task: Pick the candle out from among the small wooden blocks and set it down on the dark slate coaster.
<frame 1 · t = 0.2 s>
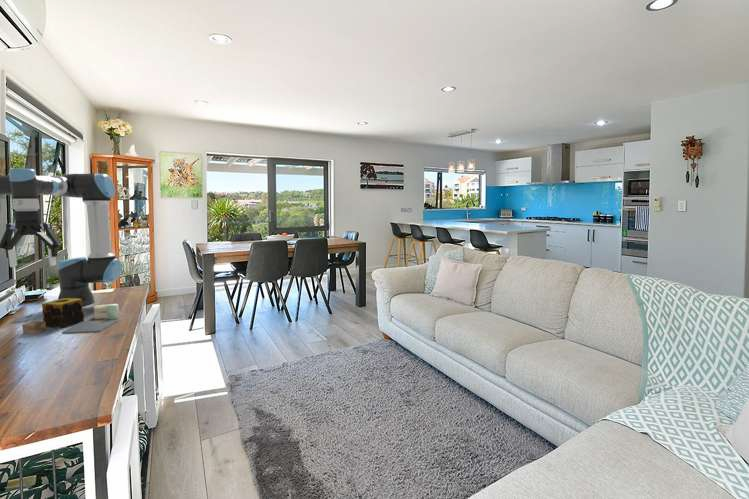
hand: (33, 266, 155), 27 cm above the table, fingers open, 13 cm apart
coaster: (91, 327, 167), on the table
sage cylinder: (113, 318, 179), on the table
candle: (64, 324, 172), on the table
walnut block: (35, 332, 161), on the table
maple block: (102, 317, 181), on the table
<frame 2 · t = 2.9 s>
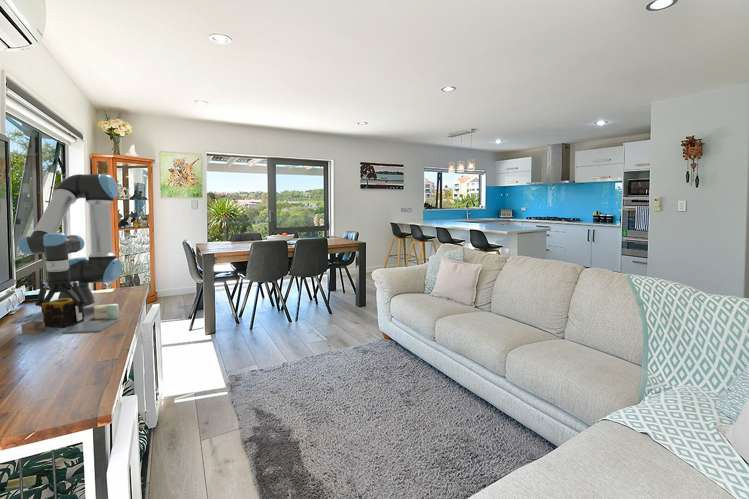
hand: (64, 320, 171), 1 cm above the table, fingers closed on candle, 11 cm apart
candle: (64, 324, 172), on the table, touching gripper
everything else where it was.
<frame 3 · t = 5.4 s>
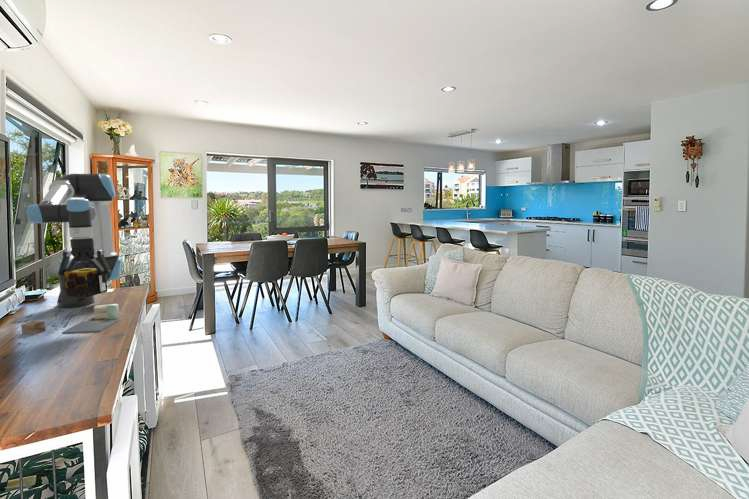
hand: (87, 291, 165), 15 cm above the table, fingers closed on candle, 11 cm apart
candle: (87, 294, 165), point 14 cm above the table, touching gripper
everything else where it was.
when the fingers open (4 cm above the table, at t = 8.1 s): candle drops 2 cm, resting on coaster.
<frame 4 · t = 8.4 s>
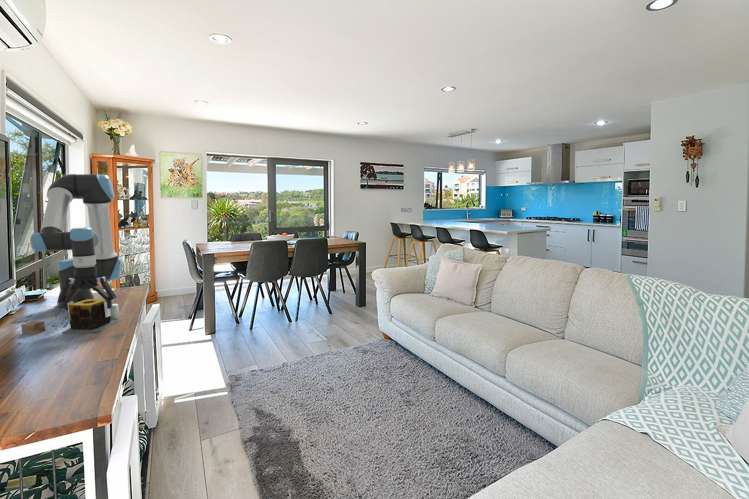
hand: (90, 317, 166), 4 cm above the table, fingers open, 13 cm apart
candle: (91, 326, 166), resting on coaster
everything else where it was.
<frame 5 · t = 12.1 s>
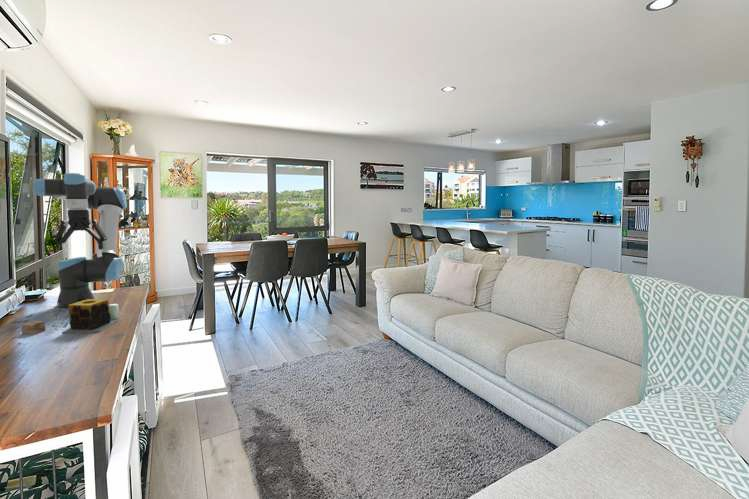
hand: (83, 257, 179), 27 cm above the table, fingers open, 13 cm apart
nothing on the table moved.
at the end: candle inside the target area on the coaster (0.0 cm from its centre), point 0.4 cm above the coaster's base; candle tilted 0°; the gripper is holding nothing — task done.
